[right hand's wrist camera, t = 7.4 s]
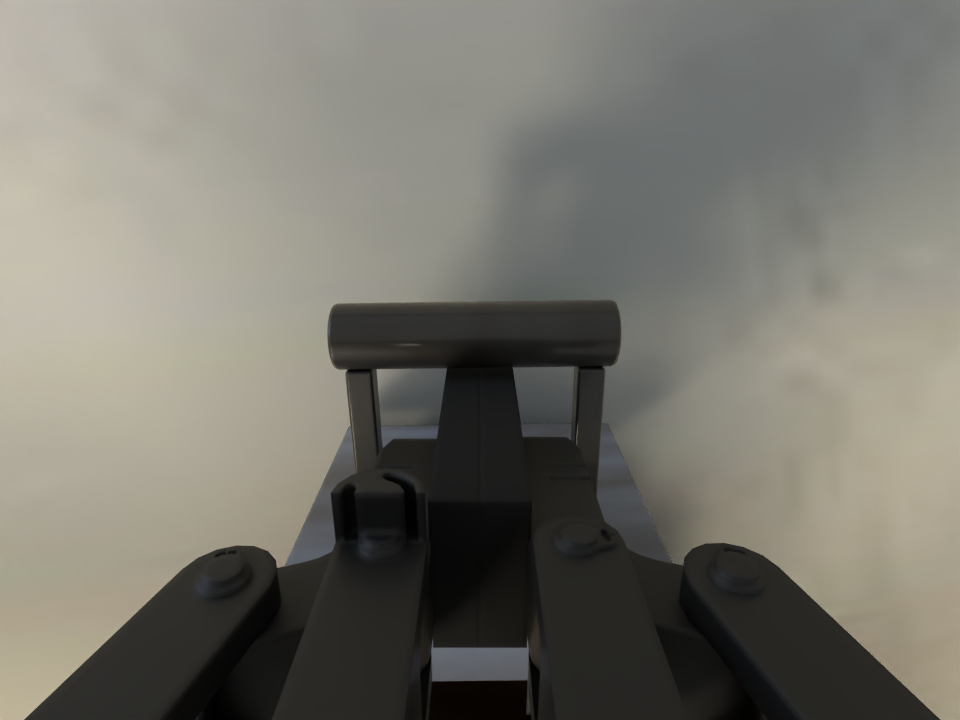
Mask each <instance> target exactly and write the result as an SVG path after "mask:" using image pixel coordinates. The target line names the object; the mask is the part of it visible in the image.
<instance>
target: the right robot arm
mask: <svg viewBox="0 0 960 720" xmlns="http://www.w3.org/2000/svg"><path fill="white" fill-rule="evenodd" d="M331 502H332V512H333V521H334V530H335V540H336V543H335V545H334V548H333V551H332V552H330V553H328V554H326V555H324V556H321V557H319V558H316V559H313V560H310V561H306V562H302V563H298V564H293V565H289V566H284V567H280V568H277V566H276V560H275V559H274V558H273V557H272V555H271V554H270V553H269V552H268V551H266V550H263V549H260V548H258V547H255V546H233V547H228V548H223V549H218V550H215V551H213V552H211V553H208V554H206V555H204V556H201V557H199V558H197V559H196V560H195V561H193V562H192V563H190V564H189V565H188V566H186V567H185V568H184V569H182V570H181V571H180V572H179V573H178V574H177V575H176V576H175V577H174V578H173V579H172V580H171V581H170V582H169V583H167V584H166V585H165V586H164V587H163V588H162V589H161V590H160V591H159V592H158V593H157V594H156V595H155V596H154V597H153V598H152V599H151V600H150V601H149V602H148V603H146V604H145V605H144V606H143V607H142V608H141V609H140V610H139V611H138V612H137V613H136V614H135V615H134V616H133V617H132V618H131V619H130V620H129V621H128V622H126V623H125V624H124V625H123V626H122V627H121V628H120V629H119V630H118V631H117V632H116V633H115V634H114V635H113V636H112V637H111V638H110V639H109V640H108V641H107V642H105V643H104V644H103V645H102V646H101V647H100V648H99V649H98V650H97V651H96V652H95V653H94V654H93V655H92V656H91V657H90V658H89V659H88V660H87V661H85V662H84V663H83V664H82V665H81V666H80V667H79V668H78V669H77V670H76V671H75V672H74V673H73V674H72V675H71V676H70V677H69V678H68V679H67V680H66V681H64V682H63V683H62V684H61V685H60V686H59V687H58V688H57V689H56V690H55V691H54V692H53V693H52V694H51V695H50V696H49V697H48V698H47V699H46V700H44V701H43V702H42V703H41V704H40V705H39V706H38V707H37V708H36V709H35V710H34V711H33V712H32V713H31V714H30V715H29V716H28V717H27V718H26V719H25V720H429V710H430V699H431V687H432V657H431V650H432V639H433V648H527V638H528V648H529V657H528V682H527V708H526V714H531V720H940V719H939V718H938V717H937V716H936V715H935V714H934V713H933V712H931V711H930V710H929V709H928V708H927V707H926V706H925V705H924V704H923V703H922V702H921V701H920V700H919V699H918V698H917V697H916V696H915V695H913V694H912V693H911V692H910V691H909V690H908V689H907V688H906V687H905V686H904V685H903V684H902V683H901V682H900V681H899V680H898V679H897V678H895V677H894V676H893V675H892V674H891V673H890V672H889V671H888V670H887V669H886V668H885V667H884V666H883V665H882V664H881V663H880V662H878V661H877V660H876V659H875V658H874V657H873V656H872V655H871V654H870V653H869V652H868V651H867V650H866V649H865V648H864V647H863V646H862V645H860V644H859V643H858V642H857V641H856V640H855V639H854V638H853V637H852V636H851V635H850V634H849V633H848V632H847V631H846V630H845V629H844V628H842V627H841V626H840V625H839V624H838V623H837V622H836V621H835V620H834V619H833V618H832V617H831V616H830V615H829V614H828V613H827V612H826V611H824V610H823V609H822V608H821V607H820V606H819V605H818V604H817V603H816V602H815V601H814V600H813V599H812V598H811V597H810V596H809V595H808V594H806V593H805V592H804V591H803V590H802V589H801V588H800V587H799V586H798V585H797V584H796V583H795V582H794V581H793V580H792V579H791V578H790V577H788V576H787V575H786V574H785V573H784V572H783V571H782V570H781V569H780V568H779V567H778V566H776V565H775V564H774V563H772V562H771V561H769V560H768V559H767V558H765V557H764V556H763V555H760V554H758V553H756V552H753V551H751V550H749V549H746V548H744V547H740V546H735V545H730V544H726V543H711V544H704V545H701V546H698V547H696V548H693V549H692V550H691V551H690V552H689V553H688V554H687V555H686V557H685V558H684V565H683V566H682V565H677V564H673V563H668V562H664V561H659V560H655V559H652V558H648V557H645V556H642V555H639V554H637V553H635V552H633V551H631V550H629V549H627V547H626V544H625V542H624V540H623V539H622V537H621V536H620V534H619V533H618V531H617V530H616V529H614V528H613V527H612V526H610V525H609V524H607V523H606V522H605V521H604V518H603V515H602V512H601V509H600V506H599V503H598V500H597V497H596V494H595V490H594V487H593V484H592V481H591V480H590V475H589V472H588V469H587V467H586V463H585V460H584V457H583V454H582V451H581V449H580V448H579V447H577V446H576V445H575V444H574V443H573V442H572V441H571V440H570V439H568V438H567V437H523V435H522V429H521V422H520V415H519V408H518V401H517V394H516V388H515V381H514V374H513V367H502V368H447V373H446V380H445V387H444V393H443V400H442V407H441V414H440V421H439V428H438V434H437V439H393V440H391V441H390V442H389V443H388V444H387V445H386V446H385V447H383V448H382V449H381V450H380V451H379V453H378V456H377V459H376V462H375V465H374V469H372V470H366V471H363V472H359V473H356V474H353V475H351V476H349V477H347V478H346V479H344V480H342V481H341V482H339V483H338V484H337V485H336V487H335V488H334V489H333V491H332V492H331Z"/></svg>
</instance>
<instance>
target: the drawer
mask: <svg viewBox="0 0 960 720" xmlns="http://www.w3.org/2000/svg"><path fill="white" fill-rule="evenodd" d="M327 336H328V349H329V354H330V358H331V361H332V364H333V366H334V367H335V368H337V369H339V370H347V369H348V370H347V371H346V374H345V375H346V385H347V395H348V405H349V415H350V424H351V426H350V427H349V428H348V430H347V432H346V434H345V437H344V439H343V441H342V443H341V445H340V447H339V449H338V452H337V454H336V456H335V458H334V460H333V462H332V465H331V467H330V469H329V471H328V473H327V475H326V478H325V480H324V482H323V484H322V486H321V488H320V491H319V493H318V495H317V497H316V499H315V501H314V503H313V506H312V508H311V510H310V512H309V514H308V516H307V519H306V521H305V523H304V525H303V527H302V529H301V532H300V534H299V536H298V538H297V540H296V542H295V544H294V547H293V549H292V551H291V553H290V555H289V557H288V560H287V562H286V564H285V566H289V565H293V564H298V563H302V562H306V561H310V560H313V559H316V558H319V557H321V556H324V555H326V554H328V553H330V552H332V551H333V548H334V545H335V543H336V540H335V530H334V521H333V512H332V502H331V492H332V491H333V489H334V488H335V487H336V485H337V484H338V483H339V482H341V481H342V480H344V479H346V478H347V477H349V476H351V475H353V474H356V473H359V472H363V471H366V470H372V469H374V465H375V462H376V459H377V456H378V453H379V451H380V450H381V449H382V448H383V447H385V446H386V445H387V444H388V443H389V442H390V441H391V440H393V439H437V434H438V428H439V425H419V426H381V420H380V408H379V396H378V383H377V371H376V369H425V368H502V367H574V386H573V407H572V424H521V429H522V435H523V437H567V438H568V439H570V440H571V441H572V442H573V443H574V444H575V445H576V446H577V447H579V448H580V449H581V451H582V454H583V457H584V460H585V463H586V467H587V469H588V472H589V475H590V480H591V481H592V484H593V487H594V490H595V494H596V497H597V500H598V503H599V506H600V509H601V512H602V515H603V518H604V521H605V522H606V523H607V524H609V525H610V526H612V527H613V528H614V529H616V530H617V531H618V533H619V534H620V536H621V537H622V539H623V540H624V542H625V544H626V547H627V549H629V550H631V551H633V552H635V553H637V554H639V555H642V556H645V557H648V558H652V559H655V560H659V561H664V562H668V563H672V561H671V559H670V557H669V555H668V553H667V551H666V549H665V546H664V544H663V542H662V540H661V538H660V536H659V533H658V531H657V529H656V527H655V525H654V523H653V520H652V518H651V516H650V514H649V512H648V510H647V507H646V505H645V503H644V501H643V499H642V497H641V494H640V492H639V490H638V488H637V486H636V484H635V482H634V479H633V477H632V475H631V473H630V471H629V469H628V466H627V464H626V462H625V460H624V458H623V456H622V453H621V451H620V449H619V447H618V445H617V443H616V440H615V438H614V436H613V434H612V432H611V430H610V427H609V425H608V424H607V423H602V411H603V396H604V381H605V369H604V367H603V366H612V365H614V364H616V362H617V360H618V357H619V353H620V347H621V319H620V313H619V310H618V307H617V304H616V303H615V302H614V301H612V300H568V301H492V302H417V303H342V304H336V305H334V306H333V307H332V309H331V312H330V315H329V320H328V331H327ZM431 657H432V687H431V699H430V710H429V720H531V714H526V708H527V682H528V657H529V648H528V638H527V648H433V639H432V650H431Z"/></svg>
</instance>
